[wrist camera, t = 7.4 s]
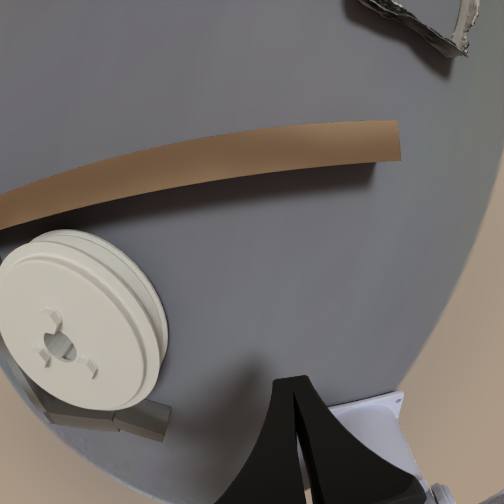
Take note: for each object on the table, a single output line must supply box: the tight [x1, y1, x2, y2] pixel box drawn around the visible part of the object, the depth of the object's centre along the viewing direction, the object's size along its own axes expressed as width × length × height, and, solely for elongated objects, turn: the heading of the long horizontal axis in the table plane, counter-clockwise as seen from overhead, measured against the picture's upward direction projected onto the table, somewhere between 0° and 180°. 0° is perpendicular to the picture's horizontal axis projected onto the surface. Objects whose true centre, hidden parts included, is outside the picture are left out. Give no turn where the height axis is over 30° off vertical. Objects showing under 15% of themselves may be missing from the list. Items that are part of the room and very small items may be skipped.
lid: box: [0, 229, 168, 410], centre depth 17 cm, size 13×13×5 cm
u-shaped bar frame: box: [0, 121, 401, 443], centre depth 18 cm, size 20×28×3 cm
